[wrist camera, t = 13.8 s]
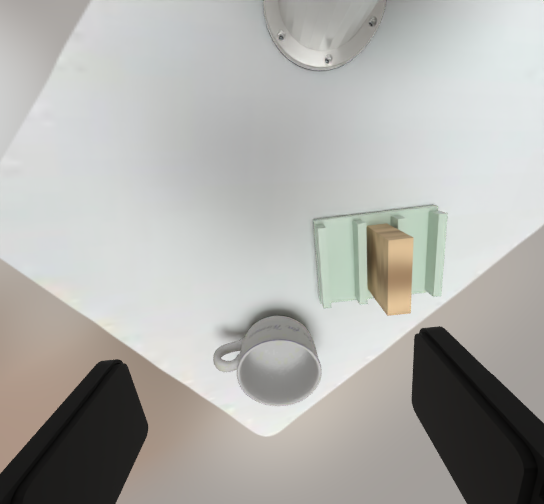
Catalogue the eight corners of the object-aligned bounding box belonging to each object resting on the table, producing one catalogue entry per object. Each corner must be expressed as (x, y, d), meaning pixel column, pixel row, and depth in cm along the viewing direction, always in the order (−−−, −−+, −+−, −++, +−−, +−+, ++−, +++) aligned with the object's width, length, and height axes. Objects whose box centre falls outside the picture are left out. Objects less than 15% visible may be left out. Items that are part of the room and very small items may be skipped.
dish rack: (313, 219, 36) (316, 224, 33) (433, 205, 35) (448, 208, 32) (319, 300, 40) (323, 311, 36) (428, 288, 39) (441, 299, 36)
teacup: (323, 318, 40) (335, 354, 33) (298, 374, 44) (304, 418, 36) (233, 291, 39) (224, 322, 32) (214, 351, 42) (202, 392, 35)
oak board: (366, 225, 35) (388, 240, 28) (386, 223, 35) (413, 237, 28) (367, 288, 38) (387, 315, 31) (386, 286, 38) (410, 313, 31)
